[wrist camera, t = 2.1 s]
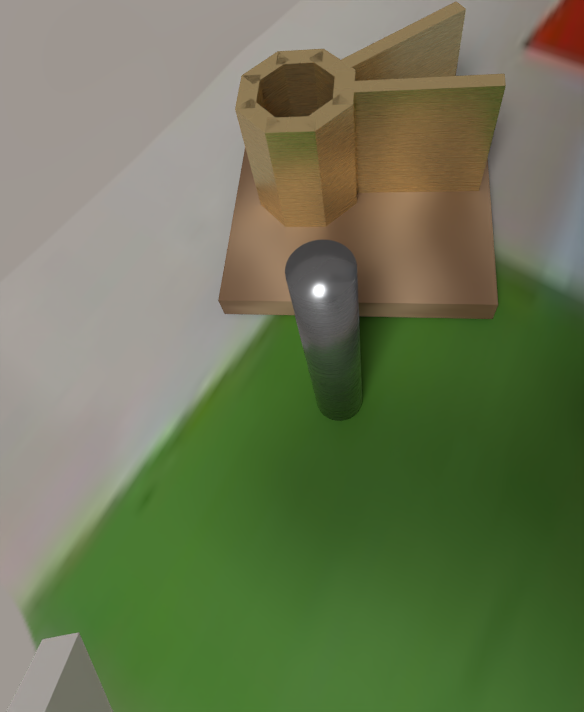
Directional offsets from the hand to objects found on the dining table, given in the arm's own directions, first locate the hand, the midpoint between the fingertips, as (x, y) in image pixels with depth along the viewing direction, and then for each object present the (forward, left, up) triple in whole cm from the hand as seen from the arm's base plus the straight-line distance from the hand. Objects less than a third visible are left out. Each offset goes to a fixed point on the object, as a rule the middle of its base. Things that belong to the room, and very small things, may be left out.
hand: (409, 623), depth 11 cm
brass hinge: (+2, -25, -13) cm, 28 cm away
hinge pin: (+3, -10, -15) cm, 18 cm away
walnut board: (+2, -23, -15) cm, 28 cm away
